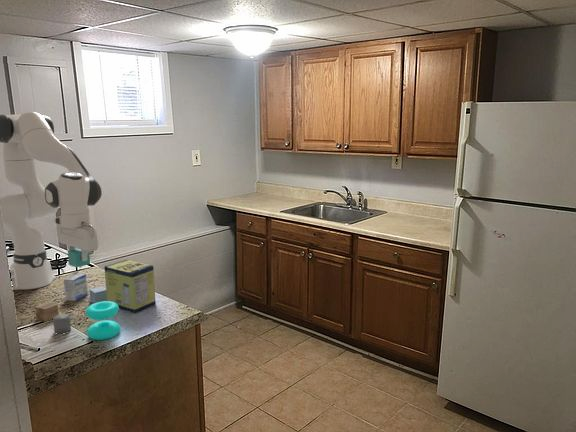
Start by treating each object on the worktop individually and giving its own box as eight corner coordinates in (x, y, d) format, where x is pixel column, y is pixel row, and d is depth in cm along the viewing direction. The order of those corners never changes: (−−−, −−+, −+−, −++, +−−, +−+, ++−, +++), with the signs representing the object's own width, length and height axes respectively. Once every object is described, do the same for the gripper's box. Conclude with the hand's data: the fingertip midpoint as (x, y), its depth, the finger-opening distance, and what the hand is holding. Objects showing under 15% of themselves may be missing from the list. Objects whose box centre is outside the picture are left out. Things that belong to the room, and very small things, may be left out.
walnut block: (36, 320, 161) (35, 306, 160) (49, 314, 165) (47, 301, 164) (45, 322, 159) (44, 309, 158) (58, 317, 163) (57, 304, 162)
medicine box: (75, 301, 178) (73, 280, 176) (65, 300, 179) (63, 279, 177) (88, 294, 185) (86, 273, 184) (78, 293, 186) (76, 273, 184)
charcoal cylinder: (51, 332, 152) (49, 317, 151) (66, 326, 156) (64, 312, 155) (59, 336, 149) (57, 321, 148) (74, 330, 153) (72, 316, 152)
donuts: (87, 301, 152) (119, 298, 155) (89, 329, 154) (121, 326, 156) (83, 313, 142) (117, 310, 145) (85, 343, 144) (119, 339, 147)
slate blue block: (90, 301, 178) (89, 289, 177) (103, 298, 181) (102, 286, 180) (95, 305, 174) (94, 292, 173) (108, 301, 178) (107, 289, 177)
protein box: (128, 296, 183) (125, 259, 180) (156, 304, 176) (154, 265, 172) (106, 305, 174) (103, 266, 171) (135, 313, 167) (132, 273, 164)
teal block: (68, 264, 160) (67, 250, 159) (82, 261, 164) (81, 247, 163) (76, 267, 157) (75, 253, 156) (90, 264, 161) (89, 250, 160)
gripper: (101, 222, 154) (104, 262, 157) (69, 215, 166) (72, 252, 169) (83, 226, 149) (87, 266, 152) (51, 218, 161) (55, 255, 164)
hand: (79, 259), depth 160 cm, fingers closed on teal block, 5 cm apart
